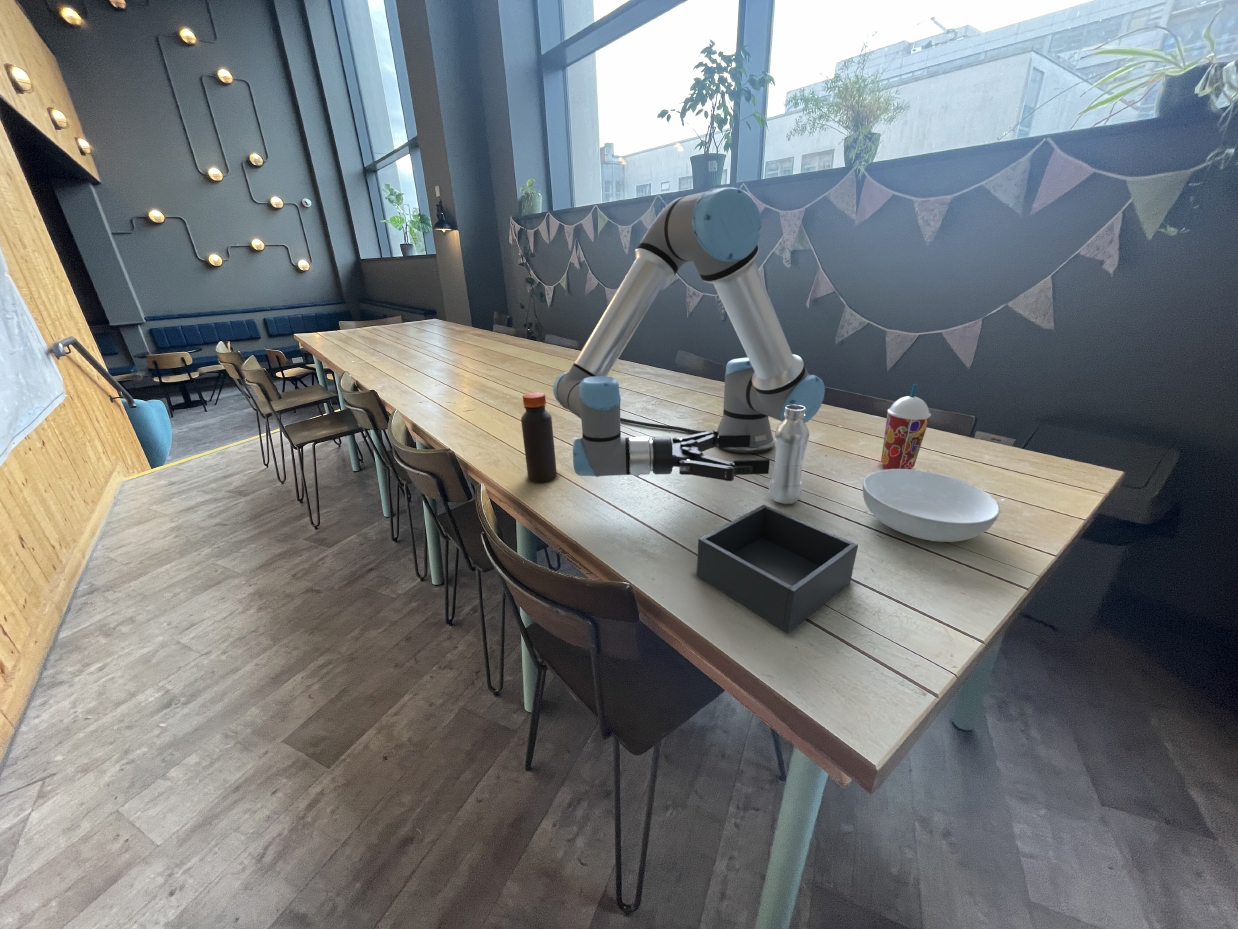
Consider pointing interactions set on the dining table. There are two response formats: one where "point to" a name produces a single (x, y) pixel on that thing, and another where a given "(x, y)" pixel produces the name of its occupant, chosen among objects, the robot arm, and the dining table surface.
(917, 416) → the smoothie
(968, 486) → the serving bowl
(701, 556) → the bin
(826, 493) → the dining table surface
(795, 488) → the silver metal bottle
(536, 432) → the vinegar
